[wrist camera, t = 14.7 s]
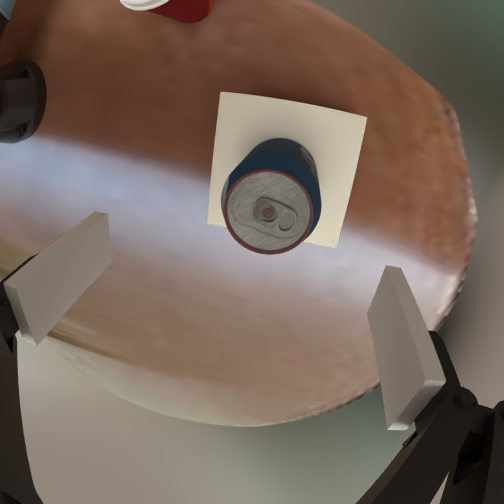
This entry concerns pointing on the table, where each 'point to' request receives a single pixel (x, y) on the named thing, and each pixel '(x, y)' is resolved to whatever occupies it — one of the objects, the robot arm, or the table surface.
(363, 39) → the table surface
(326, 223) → the small white stool
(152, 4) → the paper cup
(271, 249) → the soda can
